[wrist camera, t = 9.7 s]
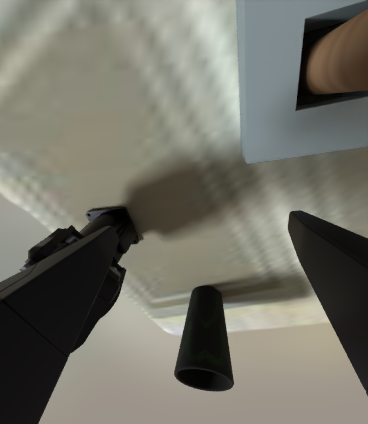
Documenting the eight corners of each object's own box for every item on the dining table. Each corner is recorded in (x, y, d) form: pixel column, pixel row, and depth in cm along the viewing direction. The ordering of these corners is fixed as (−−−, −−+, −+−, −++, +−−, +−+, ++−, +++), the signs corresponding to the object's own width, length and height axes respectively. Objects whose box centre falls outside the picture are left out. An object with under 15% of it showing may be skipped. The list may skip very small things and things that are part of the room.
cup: (225, 309, 34) (229, 395, 24) (186, 304, 35) (175, 385, 25) (230, 284, 30) (238, 375, 20) (186, 279, 31) (172, 363, 21)
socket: (241, 153, 19) (247, 164, 16) (235, -9, 13) (243, -48, 10) (375, 132, 16) (417, 139, 13) (443, -83, 11) (551, -171, 7)
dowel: (287, 99, 16) (339, 97, 9) (291, 48, 14) (359, 0, 8) (332, 90, 15) (425, 79, 9) (342, 34, 14) (469, -34, 7)
